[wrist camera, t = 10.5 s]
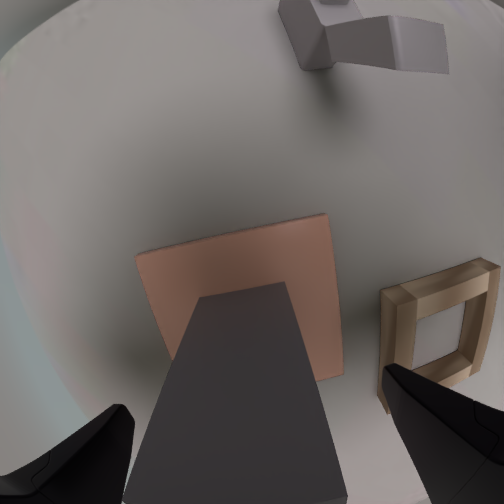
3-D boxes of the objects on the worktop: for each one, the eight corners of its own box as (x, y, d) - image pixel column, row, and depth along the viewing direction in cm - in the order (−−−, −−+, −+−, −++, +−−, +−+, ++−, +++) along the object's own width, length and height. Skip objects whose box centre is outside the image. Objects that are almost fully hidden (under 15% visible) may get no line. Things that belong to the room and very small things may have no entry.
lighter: (277, 8, 10) (297, -104, 2) (308, 5, 9) (349, -98, 2) (319, 127, 11) (413, 62, 4) (353, 122, 11) (467, 69, 3)
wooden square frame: (480, 257, 13) (500, 266, 11) (465, 356, 15) (479, 370, 13) (380, 290, 13) (397, 305, 11) (377, 395, 15) (387, 414, 13)
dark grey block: (284, 281, 12) (347, 495, 3) (296, 351, 13) (339, 537, 4) (199, 297, 13) (121, 500, 3) (220, 364, 14) (195, 547, 4)
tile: (324, 213, 12) (327, 214, 12) (341, 368, 14) (343, 374, 14) (138, 253, 13) (134, 256, 12) (192, 393, 15) (190, 400, 14)
